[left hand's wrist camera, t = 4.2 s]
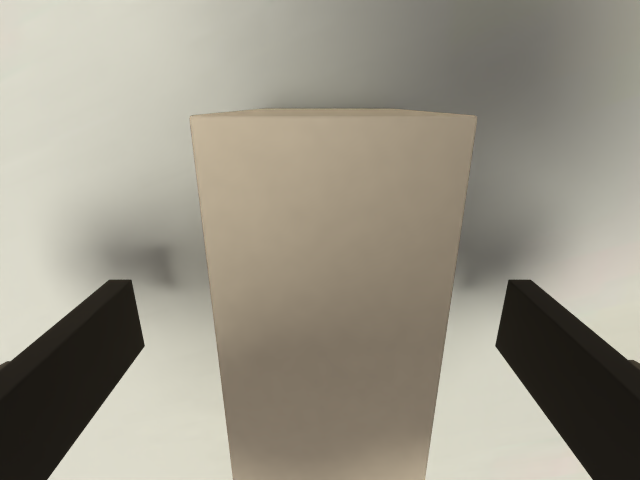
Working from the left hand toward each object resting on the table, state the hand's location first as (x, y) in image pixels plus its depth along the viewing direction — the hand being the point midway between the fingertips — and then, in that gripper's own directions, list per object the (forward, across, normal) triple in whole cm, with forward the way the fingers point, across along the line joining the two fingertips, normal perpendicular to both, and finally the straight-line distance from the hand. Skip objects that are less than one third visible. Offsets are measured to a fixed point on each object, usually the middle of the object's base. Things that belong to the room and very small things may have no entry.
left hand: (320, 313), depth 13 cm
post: (+4, 0, -29) cm, 30 cm away
